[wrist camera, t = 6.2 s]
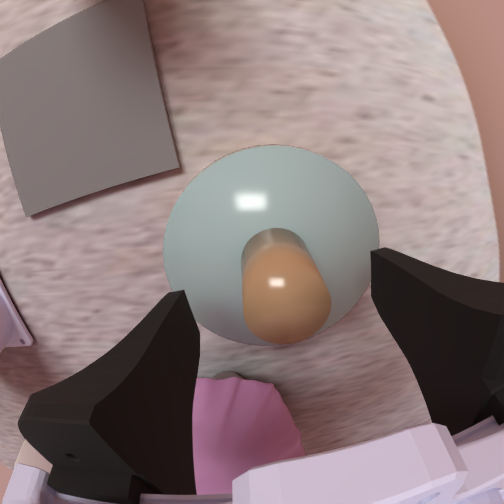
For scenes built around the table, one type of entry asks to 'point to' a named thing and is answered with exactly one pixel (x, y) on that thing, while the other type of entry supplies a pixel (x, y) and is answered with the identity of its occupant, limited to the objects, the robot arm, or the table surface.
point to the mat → (84, 107)
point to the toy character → (238, 430)
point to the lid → (271, 244)
